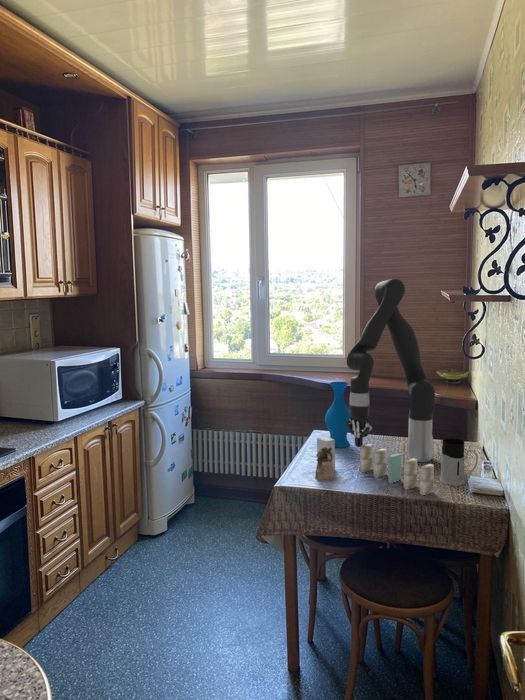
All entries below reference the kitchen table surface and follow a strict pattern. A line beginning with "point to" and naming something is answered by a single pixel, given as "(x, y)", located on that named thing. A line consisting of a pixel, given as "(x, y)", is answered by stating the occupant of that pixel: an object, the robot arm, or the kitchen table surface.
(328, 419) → the vase
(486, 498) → the kitchen table surface
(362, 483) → the kitchen table surface
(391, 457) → the domino
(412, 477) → the domino
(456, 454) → the grey black pitcher
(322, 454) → the figurine
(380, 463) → the domino
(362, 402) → the robot arm
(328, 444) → the skincare box
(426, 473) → the domino
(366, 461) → the domino
